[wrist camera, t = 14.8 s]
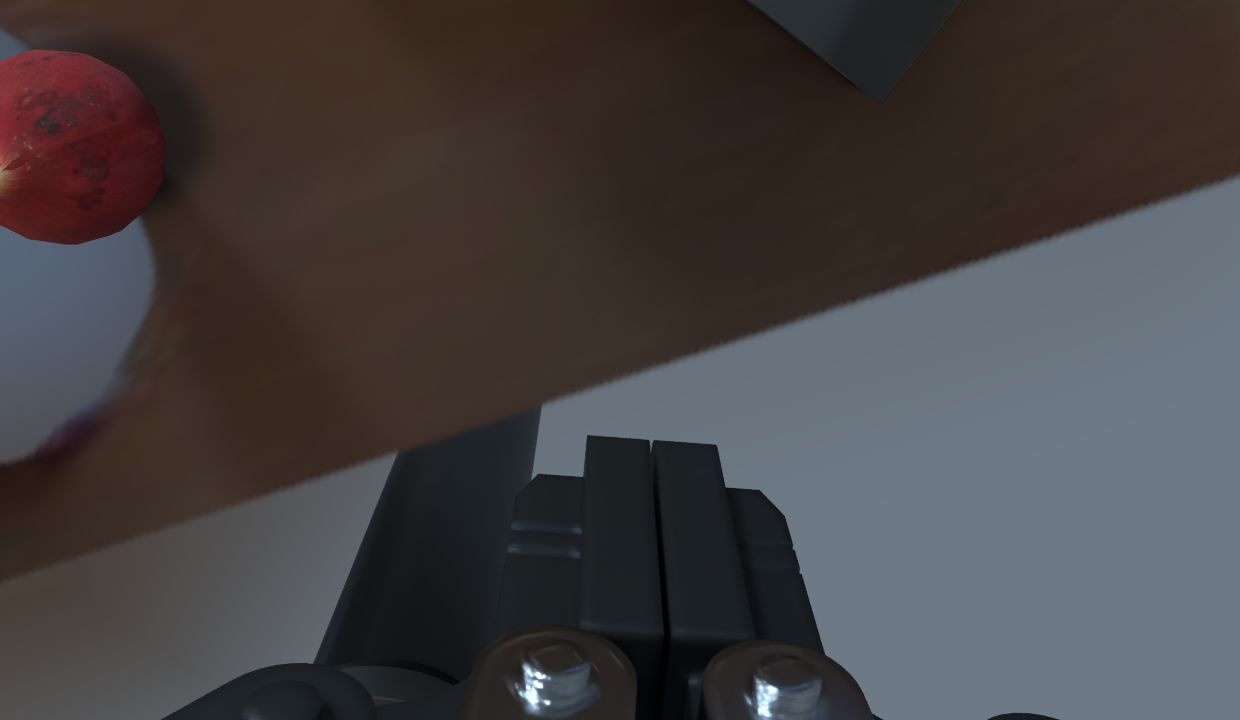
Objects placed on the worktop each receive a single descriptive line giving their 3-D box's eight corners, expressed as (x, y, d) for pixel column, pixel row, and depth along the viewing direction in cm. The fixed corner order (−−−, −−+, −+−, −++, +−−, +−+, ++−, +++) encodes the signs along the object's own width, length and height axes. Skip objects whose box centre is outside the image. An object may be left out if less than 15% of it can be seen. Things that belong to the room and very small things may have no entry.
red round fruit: (108, 0, 33) (-34, 22, 26) (237, 141, 35) (138, 200, 28) (-9, 110, 35) (-176, 161, 27) (121, 240, 36) (-3, 321, 29)
